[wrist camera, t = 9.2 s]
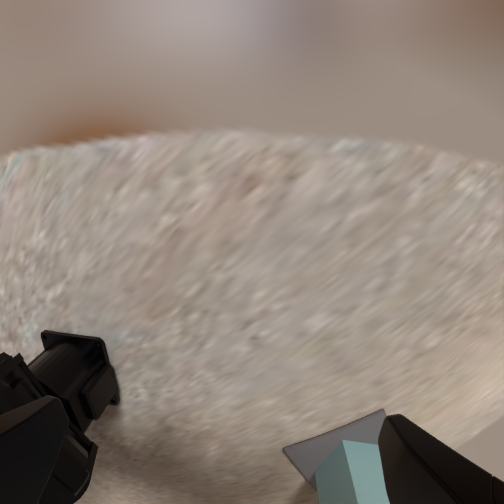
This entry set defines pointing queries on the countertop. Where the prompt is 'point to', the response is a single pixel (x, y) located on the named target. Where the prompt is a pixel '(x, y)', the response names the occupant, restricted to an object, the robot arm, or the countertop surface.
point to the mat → (333, 443)
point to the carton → (352, 475)
